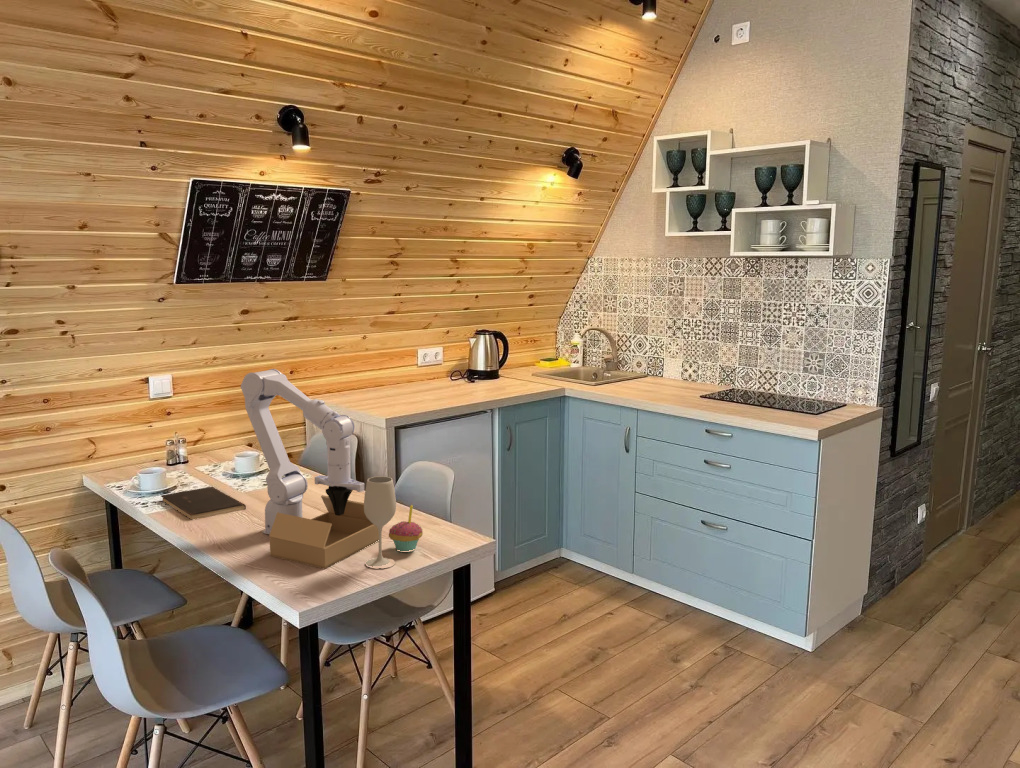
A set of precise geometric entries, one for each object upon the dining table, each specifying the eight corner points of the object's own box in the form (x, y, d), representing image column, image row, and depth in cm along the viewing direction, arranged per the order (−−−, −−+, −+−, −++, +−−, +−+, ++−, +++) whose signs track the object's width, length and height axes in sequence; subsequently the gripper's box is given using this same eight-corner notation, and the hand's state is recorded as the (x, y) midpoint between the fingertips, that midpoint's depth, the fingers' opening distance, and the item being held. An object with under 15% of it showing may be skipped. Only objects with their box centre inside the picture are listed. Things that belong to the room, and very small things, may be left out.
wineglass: (373, 572, 183) (373, 485, 180) (358, 562, 189) (358, 478, 186) (401, 565, 188) (402, 480, 185) (386, 555, 194) (385, 473, 191)
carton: (270, 556, 192) (269, 536, 191) (328, 529, 211) (327, 512, 211) (325, 569, 185) (324, 548, 184) (379, 540, 204) (379, 522, 203)
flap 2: (320, 496, 207) (321, 495, 207) (328, 512, 211) (329, 510, 211) (372, 506, 200) (373, 504, 200) (379, 522, 203) (380, 520, 204)
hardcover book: (190, 522, 217) (190, 514, 216) (161, 502, 233) (160, 495, 233) (246, 511, 227) (245, 503, 227) (214, 493, 244) (213, 486, 244)
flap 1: (332, 523, 186) (330, 523, 185) (324, 548, 184) (322, 548, 183) (278, 512, 193) (277, 512, 192) (270, 536, 191) (269, 536, 191)
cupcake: (406, 541, 204) (406, 497, 202) (429, 549, 199) (430, 503, 197) (381, 550, 198) (381, 504, 196) (405, 558, 192) (405, 511, 190)
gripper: (306, 462, 199) (307, 514, 201) (352, 470, 193) (352, 523, 195) (324, 457, 205) (325, 506, 207) (369, 464, 199) (369, 515, 201)
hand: (339, 514), depth 202 cm, fingers closed
